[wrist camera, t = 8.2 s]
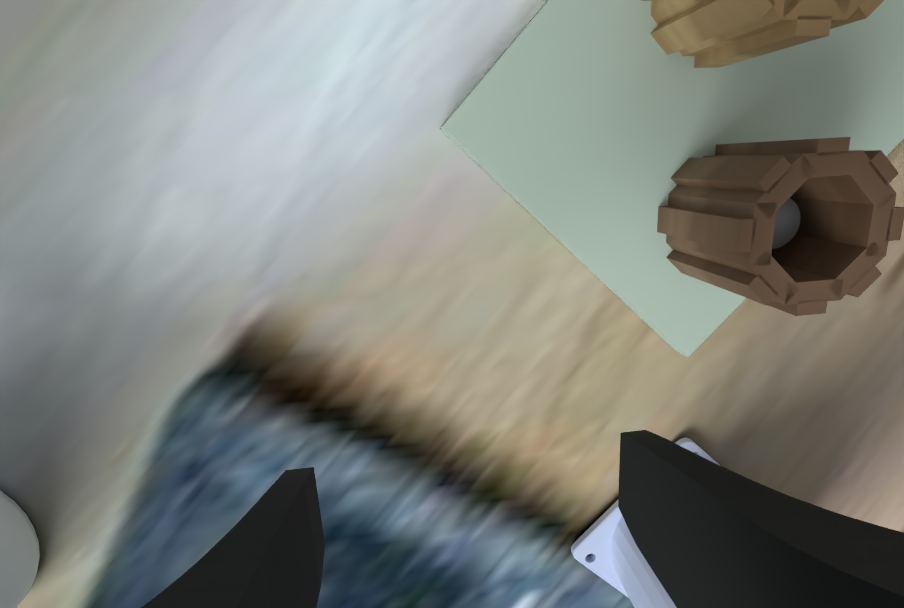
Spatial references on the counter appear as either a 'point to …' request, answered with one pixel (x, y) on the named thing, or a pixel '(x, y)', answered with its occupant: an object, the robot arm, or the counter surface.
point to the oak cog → (747, 26)
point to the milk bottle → (16, 553)
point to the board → (661, 134)
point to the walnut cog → (753, 218)
